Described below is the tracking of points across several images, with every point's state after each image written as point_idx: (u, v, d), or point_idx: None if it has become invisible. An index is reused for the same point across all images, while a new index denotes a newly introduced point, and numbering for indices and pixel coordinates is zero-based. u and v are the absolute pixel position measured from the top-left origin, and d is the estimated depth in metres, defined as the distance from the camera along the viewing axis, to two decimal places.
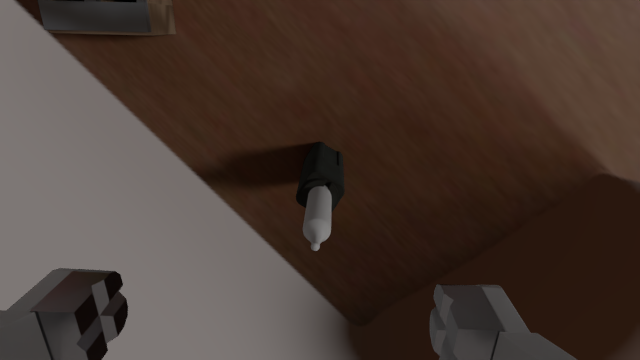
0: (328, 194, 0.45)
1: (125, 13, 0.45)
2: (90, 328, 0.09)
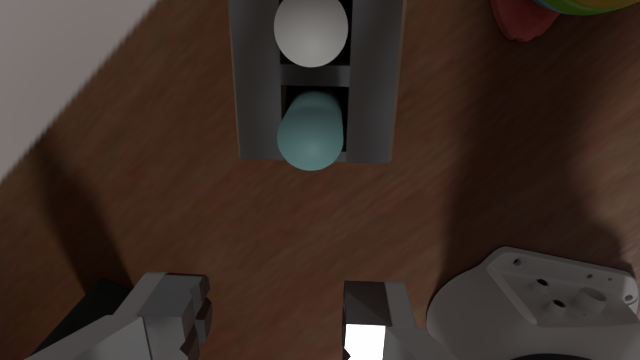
0: None
1: (265, 129, 0.28)
2: None
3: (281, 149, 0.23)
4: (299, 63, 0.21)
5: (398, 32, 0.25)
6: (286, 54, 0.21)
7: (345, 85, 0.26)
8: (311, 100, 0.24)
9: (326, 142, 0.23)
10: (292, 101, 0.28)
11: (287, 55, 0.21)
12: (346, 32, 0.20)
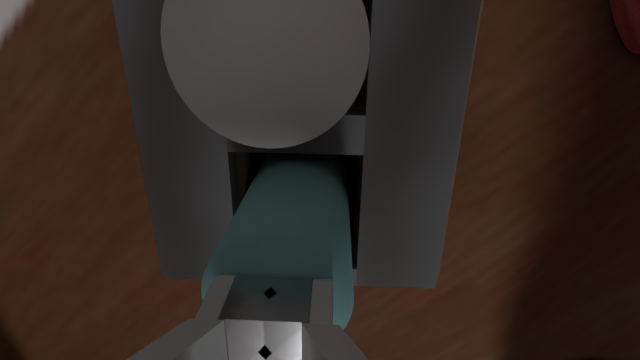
0: None
1: (204, 230, 0.15)
2: None
3: None
4: (239, 139, 0.08)
5: (470, 48, 0.12)
6: (202, 116, 0.08)
7: (356, 152, 0.13)
8: (283, 199, 0.11)
9: None
10: None
11: (205, 119, 0.08)
12: (365, 58, 0.07)
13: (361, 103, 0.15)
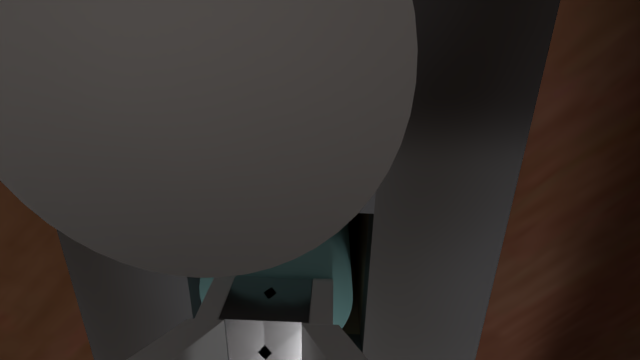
0: None
1: (150, 310, 0.11)
2: None
3: None
4: (134, 259, 0.04)
5: (540, 61, 0.08)
6: (52, 217, 0.04)
7: (363, 210, 0.09)
8: None
9: None
10: None
11: (59, 221, 0.04)
12: (404, 101, 0.03)
13: None
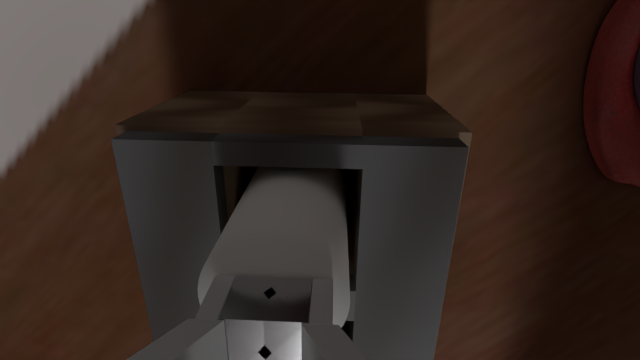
0: None
1: None
2: None
3: None
4: None
5: (449, 243, 0.13)
6: None
7: (347, 319, 0.14)
8: None
9: None
10: None
11: None
12: (347, 306, 0.10)
13: (352, 259, 0.16)
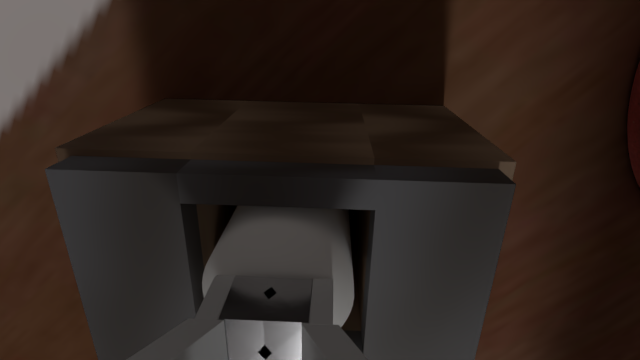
0: None
1: None
2: None
3: None
4: None
5: (483, 301, 0.10)
6: None
7: None
8: None
9: None
10: None
11: None
12: (351, 300, 0.10)
13: (358, 308, 0.13)
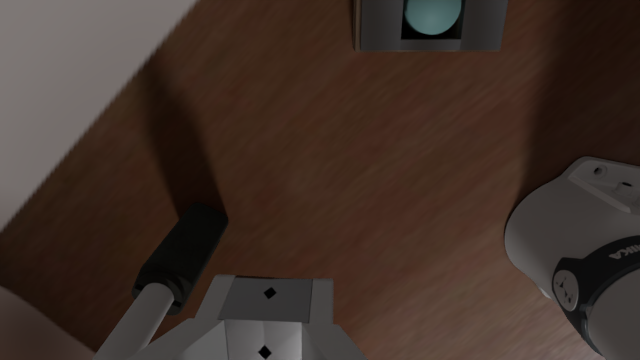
0: (164, 315, 0.34)
1: (386, 19, 0.30)
2: None
3: (411, 16, 0.30)
4: None
5: None
6: None
7: None
8: None
9: (447, 9, 0.29)
10: None
11: None
12: None
13: None
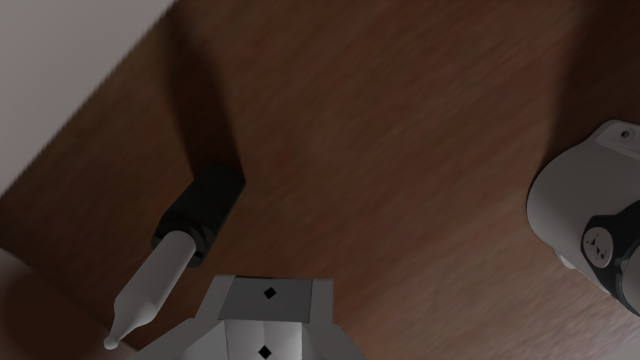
0: None
1: None
2: None
3: None
4: None
5: None
6: None
7: None
8: None
9: None
10: None
11: None
12: None
13: None
